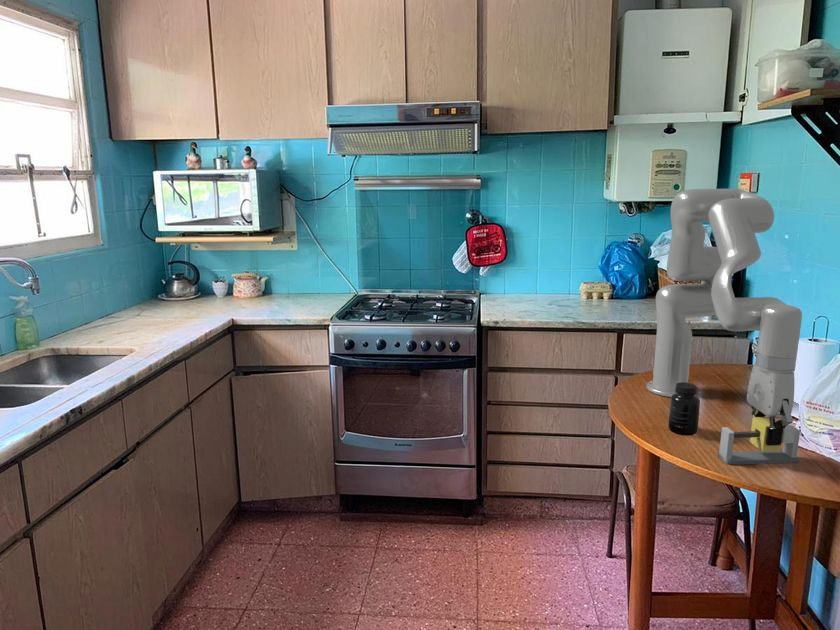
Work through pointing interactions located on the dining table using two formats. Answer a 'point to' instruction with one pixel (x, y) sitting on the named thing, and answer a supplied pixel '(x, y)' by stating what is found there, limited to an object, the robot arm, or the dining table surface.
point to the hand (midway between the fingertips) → (765, 438)
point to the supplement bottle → (684, 410)
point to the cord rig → (756, 457)
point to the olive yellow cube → (762, 434)
